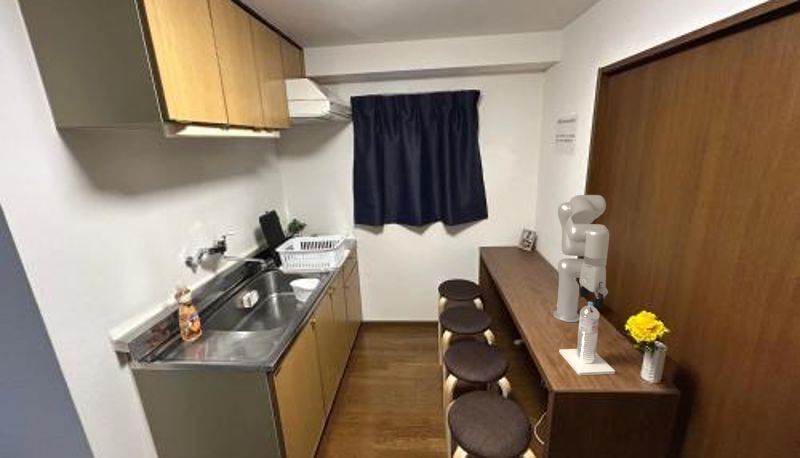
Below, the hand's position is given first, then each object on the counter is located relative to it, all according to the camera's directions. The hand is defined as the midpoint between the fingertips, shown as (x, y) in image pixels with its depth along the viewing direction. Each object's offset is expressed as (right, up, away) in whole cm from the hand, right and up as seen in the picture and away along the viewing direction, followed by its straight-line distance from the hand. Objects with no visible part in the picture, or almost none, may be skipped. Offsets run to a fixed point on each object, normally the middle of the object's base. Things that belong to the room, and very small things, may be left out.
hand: (590, 301), depth 134 cm
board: (+1, -26, +5) cm, 26 cm away
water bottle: (+1, -25, +5) cm, 25 cm away
